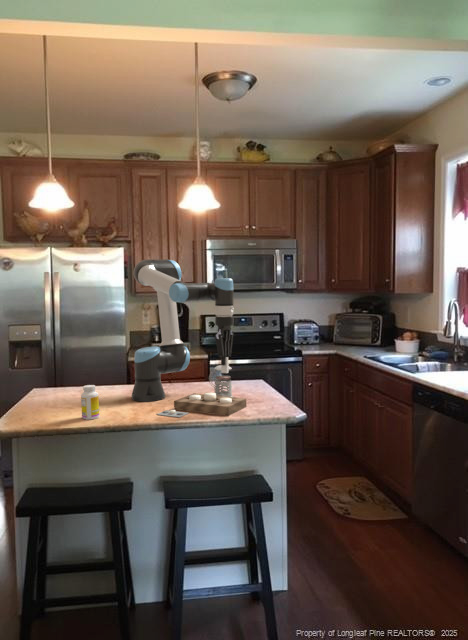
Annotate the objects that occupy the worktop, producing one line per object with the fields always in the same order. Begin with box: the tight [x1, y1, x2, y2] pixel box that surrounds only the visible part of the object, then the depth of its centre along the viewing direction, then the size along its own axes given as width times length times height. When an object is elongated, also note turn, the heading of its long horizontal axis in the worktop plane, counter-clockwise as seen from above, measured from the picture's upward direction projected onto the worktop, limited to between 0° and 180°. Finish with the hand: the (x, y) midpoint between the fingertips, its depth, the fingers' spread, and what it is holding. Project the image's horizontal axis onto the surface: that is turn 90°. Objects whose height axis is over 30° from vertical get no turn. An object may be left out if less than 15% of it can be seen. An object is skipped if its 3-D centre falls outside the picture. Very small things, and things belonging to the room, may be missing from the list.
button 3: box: [220, 398, 232, 404], centre depth 213 cm, size 5×5×3 cm
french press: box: [208, 364, 234, 397], centre depth 235 cm, size 10×12×25 cm
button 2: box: [203, 392, 216, 402], centre depth 216 cm, size 5×5×3 cm
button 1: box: [189, 394, 201, 400], centre depth 220 cm, size 5×5×3 cm
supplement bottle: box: [80, 384, 100, 421], centre depth 203 cm, size 7×7×13 cm
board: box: [173, 392, 247, 417], centre depth 216 cm, size 26×16×4 cm, turn 63°
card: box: [156, 409, 190, 418], centre depth 207 cm, size 11×7×2 cm, turn 63°
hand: (224, 372), depth 212 cm, fingers closed
